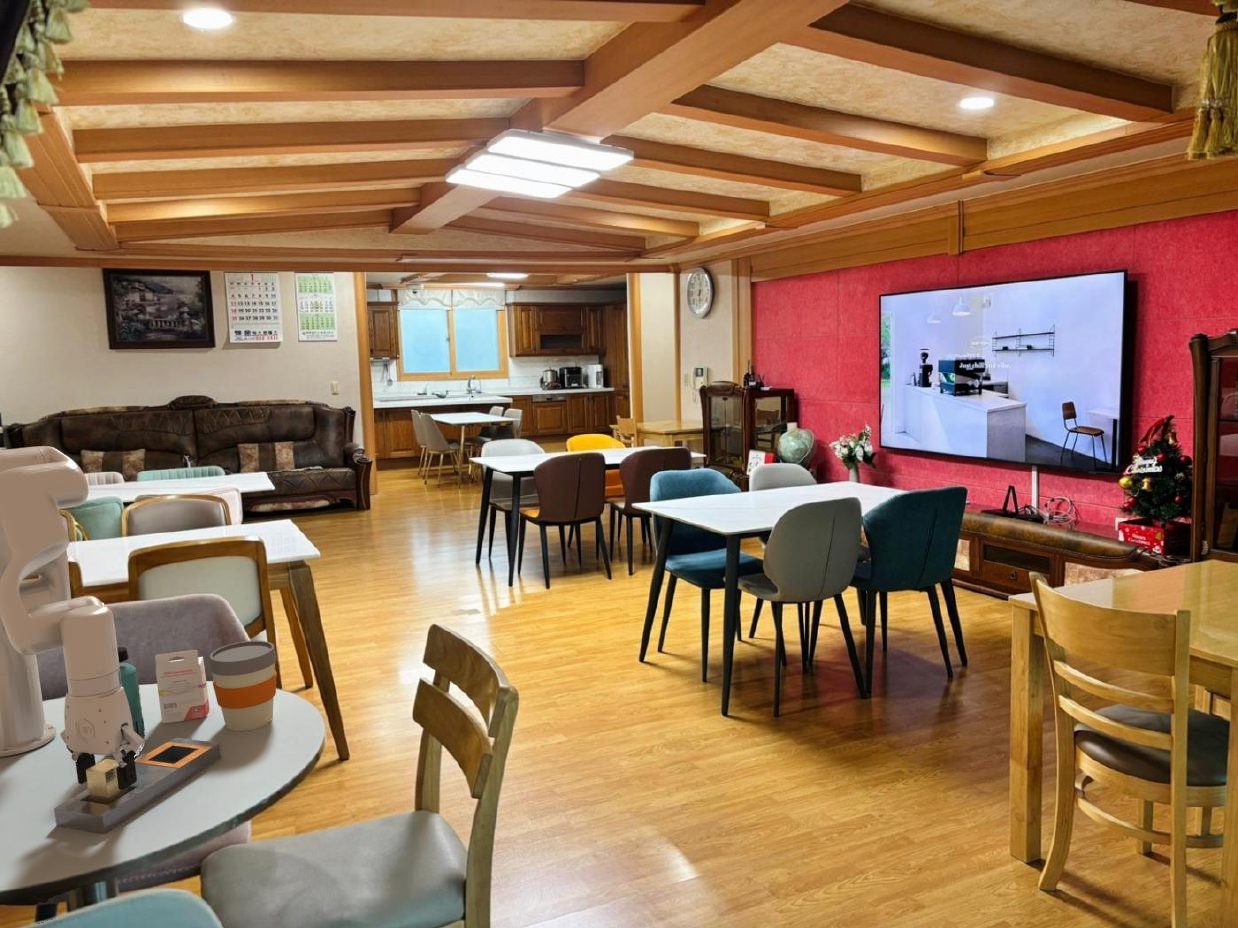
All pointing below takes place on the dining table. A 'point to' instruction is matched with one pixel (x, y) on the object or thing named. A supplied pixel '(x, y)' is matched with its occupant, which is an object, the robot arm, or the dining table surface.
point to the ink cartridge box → (181, 686)
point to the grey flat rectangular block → (141, 785)
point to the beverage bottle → (131, 691)
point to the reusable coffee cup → (245, 683)
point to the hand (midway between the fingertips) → (107, 782)
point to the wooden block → (104, 782)
